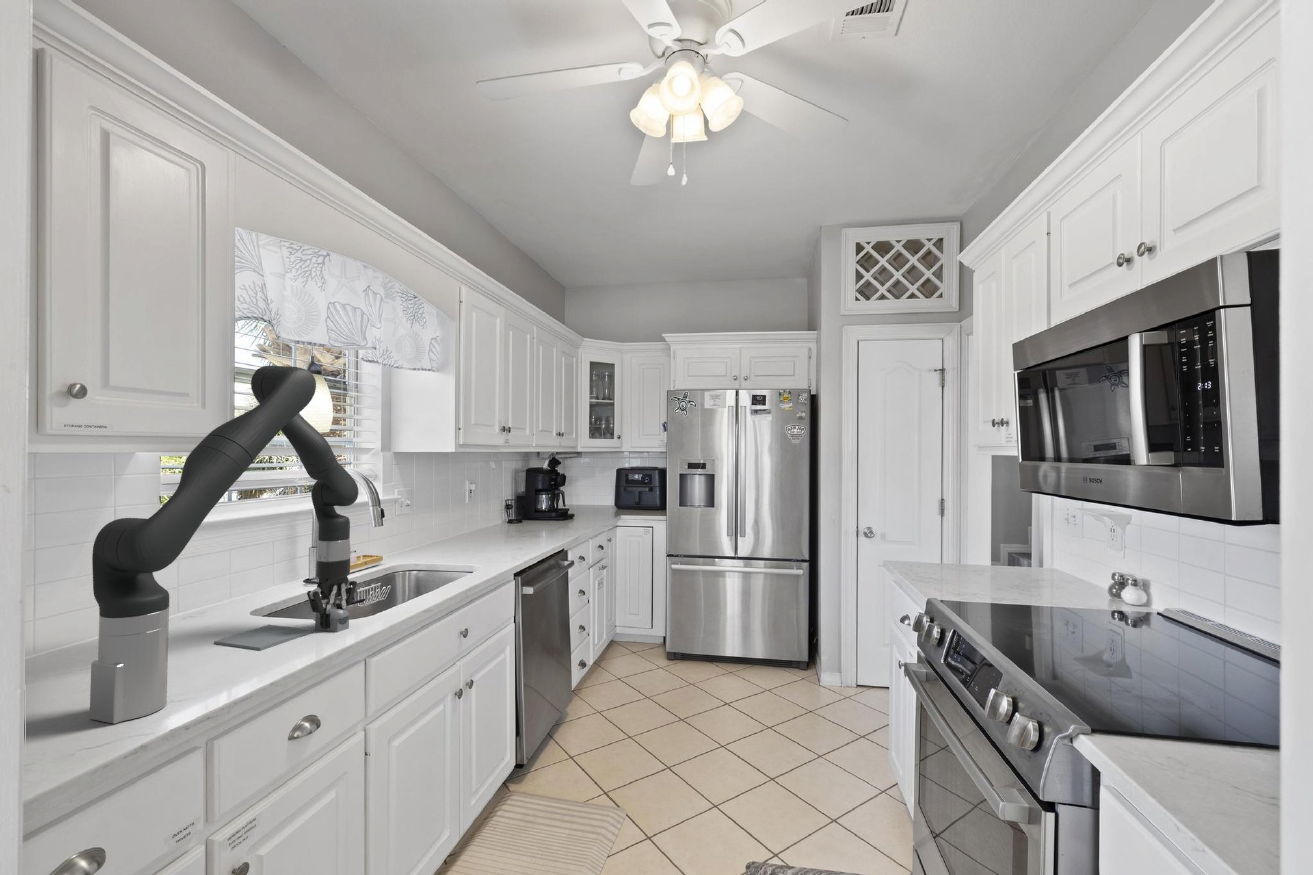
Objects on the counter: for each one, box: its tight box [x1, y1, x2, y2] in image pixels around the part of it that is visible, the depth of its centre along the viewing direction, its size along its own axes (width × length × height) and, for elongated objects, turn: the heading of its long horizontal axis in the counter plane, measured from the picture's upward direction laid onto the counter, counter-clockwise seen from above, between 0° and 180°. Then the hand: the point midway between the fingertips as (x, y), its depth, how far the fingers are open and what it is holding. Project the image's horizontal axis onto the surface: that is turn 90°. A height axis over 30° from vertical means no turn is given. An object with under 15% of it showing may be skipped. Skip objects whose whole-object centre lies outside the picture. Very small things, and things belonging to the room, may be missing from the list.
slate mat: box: [213, 624, 314, 651], centre depth 144 cm, size 14×14×1 cm
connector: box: [313, 607, 350, 633], centre depth 152 cm, size 4×8×5 cm, turn 73°
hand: (332, 625), depth 152 cm, fingers closed on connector, 3 cm apart
